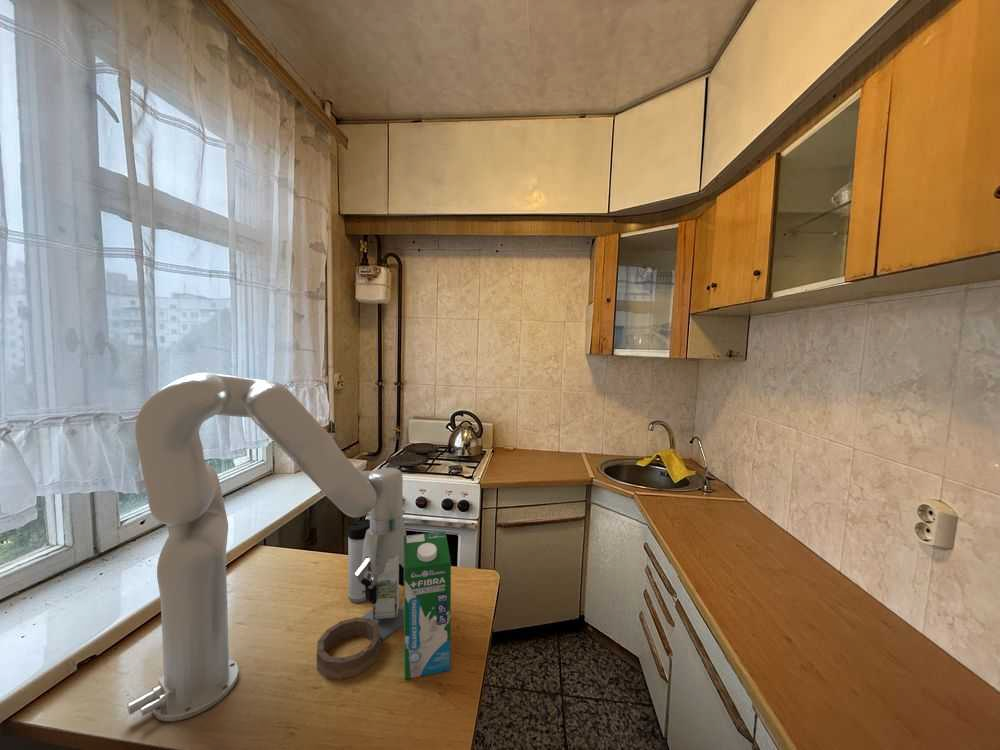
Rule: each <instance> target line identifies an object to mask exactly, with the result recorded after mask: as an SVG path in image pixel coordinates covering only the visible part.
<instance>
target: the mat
mask: <svg viewBox="0 0 1000 750" xmlns="http://www.w3.org/2000/svg"><path fill="white" fill-rule="evenodd" d="M360 618H369V619H371V620H373V609H372V610H370V611H369V612H367V613H365V614H364V615H362V616H360ZM373 621H374V622H376V623H377V624H378V625H379V628H380V634H381V642H383V641H384V640H386V639H387V638H388V637H390V636H391V635H393V634H394V633H396V632H397V631H398V630H400V629H401V628H402V627H404V605H402V604H400V603H399V607H398V614H397V618H391V619H381V620H373Z"/></svg>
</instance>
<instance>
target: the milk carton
mask: <svg viewBox="0 0 1000 750" xmlns="http://www.w3.org/2000/svg"><path fill="white" fill-rule="evenodd" d="M451 561H452V560H451V556H450V549H449V543H448V538H447V533H446V531H445V530H444V531H435V532H429V533H421V534H417V533H416V534H411V535H410V534H409V535H406V536H404V586H403V606H404V626H403V656H404V657H403V661H404V662H403V663H404V680H409V679H410V680H411V679H414V678H418V677H422V676H423V677H424V676H427V675H432V674H437V673H441V672H446V671H450V670H451V641H452V638H451V633H452V632H451V631H452V629H451V625H452V623H451V616H452V615H451V612H452V611H451V610H452V609H451V608H452V607H451V605H452V604H451V603H452V602H451V600H452V594H451V593H452V591H451V590H452V585H451V584H452V582H451V581H452V569H451V568H452V562H451Z"/></svg>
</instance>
